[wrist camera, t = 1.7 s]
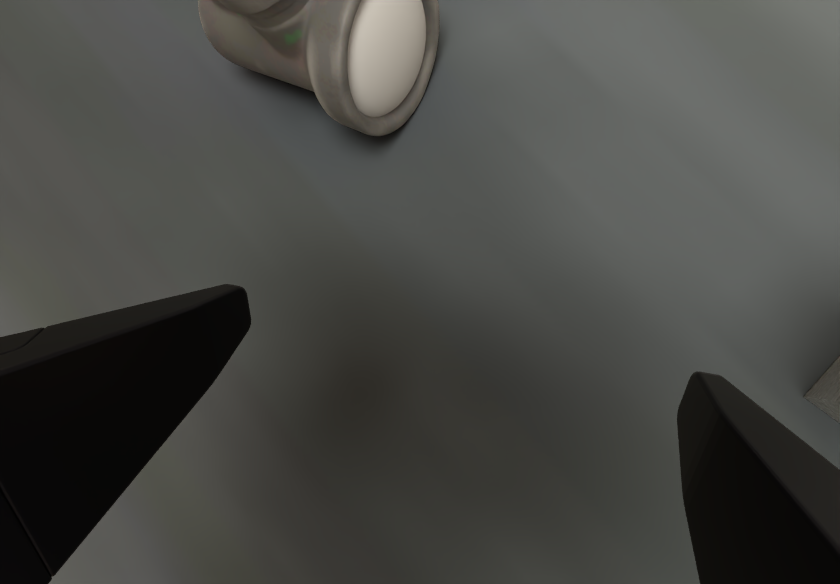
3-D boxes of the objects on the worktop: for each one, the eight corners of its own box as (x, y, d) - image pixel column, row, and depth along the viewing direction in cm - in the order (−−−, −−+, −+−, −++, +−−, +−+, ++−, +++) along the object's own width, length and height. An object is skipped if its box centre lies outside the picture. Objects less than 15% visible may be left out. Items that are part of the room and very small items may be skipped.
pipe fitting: (464, 32, 26) (386, -152, 17) (398, 163, 27) (285, 57, 17) (307, -12, 31) (175, -176, 21) (254, 101, 31) (101, -10, 22)
